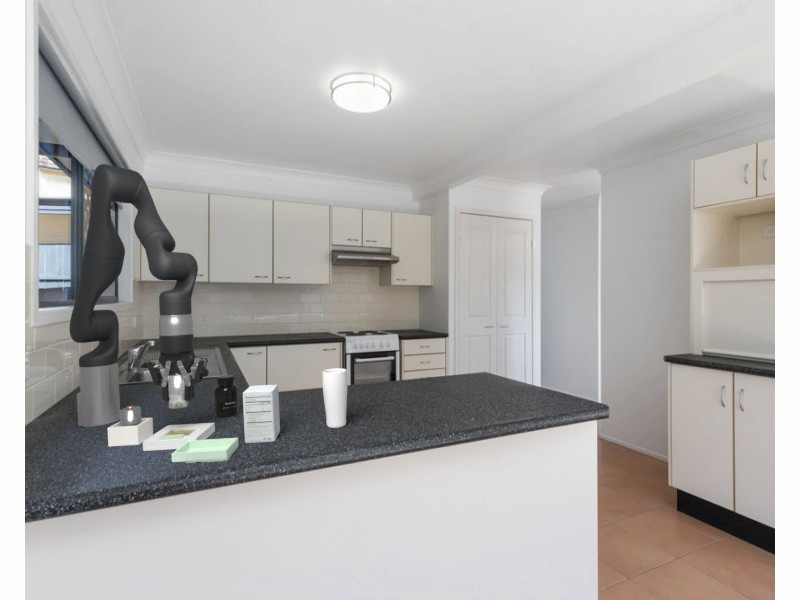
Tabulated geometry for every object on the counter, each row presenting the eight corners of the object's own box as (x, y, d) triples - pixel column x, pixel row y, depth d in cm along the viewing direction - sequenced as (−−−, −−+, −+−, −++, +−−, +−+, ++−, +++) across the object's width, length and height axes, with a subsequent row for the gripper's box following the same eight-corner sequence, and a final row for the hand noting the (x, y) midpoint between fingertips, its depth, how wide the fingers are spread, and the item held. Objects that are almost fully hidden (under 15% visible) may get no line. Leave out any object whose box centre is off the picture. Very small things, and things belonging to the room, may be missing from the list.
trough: (172, 464, 89) (171, 453, 89) (188, 450, 97) (187, 440, 97) (226, 460, 90) (226, 450, 90) (238, 447, 98) (238, 437, 98)
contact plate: (163, 443, 100) (163, 439, 100) (174, 434, 106) (174, 431, 106) (188, 441, 100) (187, 437, 100) (198, 433, 106) (197, 429, 106)
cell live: (165, 409, 101) (164, 374, 100) (173, 404, 105) (172, 370, 105) (184, 408, 101) (182, 373, 101) (191, 403, 105) (190, 369, 105)
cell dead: (117, 444, 102) (115, 409, 102) (127, 437, 106) (126, 404, 106) (135, 442, 102) (134, 408, 102) (145, 436, 106) (143, 403, 106)
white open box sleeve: (108, 448, 100) (107, 427, 100) (125, 438, 107) (124, 419, 107) (138, 446, 101) (137, 426, 101) (153, 436, 108) (152, 417, 108)
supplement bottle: (230, 419, 120) (228, 378, 120) (209, 419, 122) (207, 378, 121) (243, 412, 127) (242, 374, 127) (223, 412, 128) (222, 373, 128)
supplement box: (252, 433, 108) (250, 385, 108) (280, 431, 109) (279, 383, 108) (243, 443, 101) (241, 392, 100) (274, 441, 101) (272, 390, 101)
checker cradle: (143, 452, 97) (142, 439, 97) (168, 435, 109) (167, 423, 109) (196, 449, 98) (195, 436, 97) (215, 432, 110) (214, 420, 109)
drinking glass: (328, 431, 107) (326, 374, 107) (320, 424, 113) (318, 370, 113) (352, 426, 110) (350, 371, 110) (344, 420, 116) (342, 367, 116)
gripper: (138, 335, 98) (140, 406, 99) (200, 333, 99) (202, 404, 100) (154, 331, 106) (156, 398, 106) (211, 330, 107) (214, 395, 107)
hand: (178, 400), depth 103 cm, fingers closed on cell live, 4 cm apart
